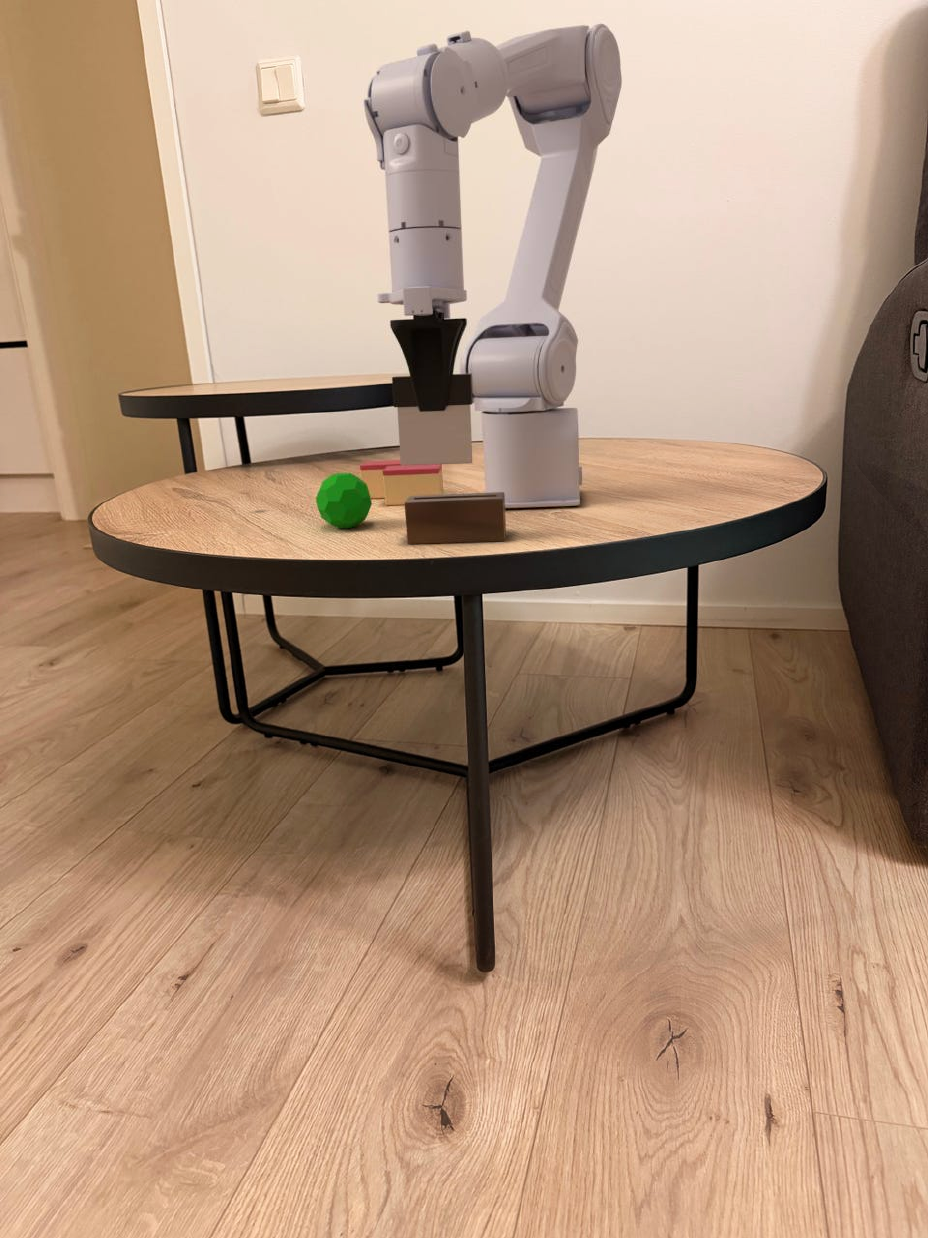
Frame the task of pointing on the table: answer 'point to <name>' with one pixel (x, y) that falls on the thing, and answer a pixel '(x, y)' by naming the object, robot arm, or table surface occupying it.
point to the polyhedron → (343, 500)
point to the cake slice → (376, 476)
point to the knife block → (455, 518)
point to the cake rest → (411, 482)
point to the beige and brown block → (435, 424)
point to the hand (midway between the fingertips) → (433, 410)
